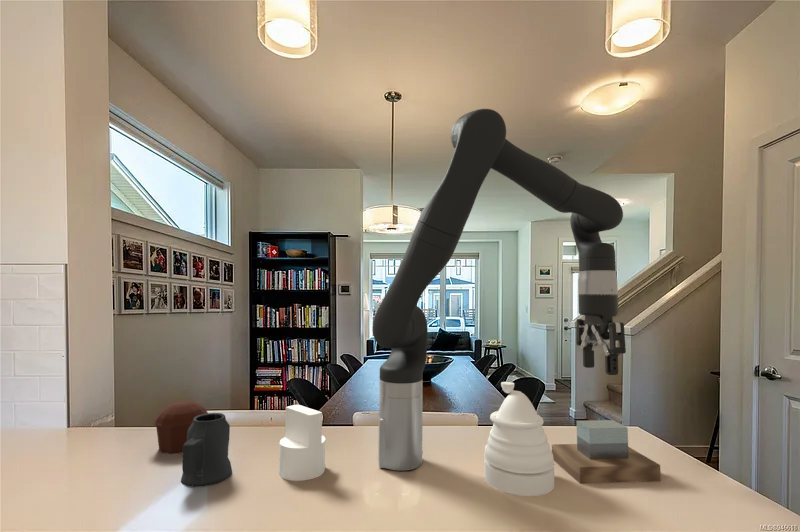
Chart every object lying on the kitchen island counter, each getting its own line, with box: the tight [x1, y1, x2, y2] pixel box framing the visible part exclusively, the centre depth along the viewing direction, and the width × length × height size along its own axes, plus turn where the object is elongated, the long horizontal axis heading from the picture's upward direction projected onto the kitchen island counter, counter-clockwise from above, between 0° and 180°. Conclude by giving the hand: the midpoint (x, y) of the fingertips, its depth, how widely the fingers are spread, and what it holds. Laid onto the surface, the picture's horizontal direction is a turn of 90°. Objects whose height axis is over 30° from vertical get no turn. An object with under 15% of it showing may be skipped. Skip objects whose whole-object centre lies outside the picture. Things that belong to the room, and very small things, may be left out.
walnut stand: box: [551, 443, 662, 484], centre depth 84 cm, size 16×12×3 cm
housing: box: [576, 419, 629, 459], centre depth 85 cm, size 5×8×6 cm, turn 94°
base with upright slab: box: [278, 404, 326, 482], centre depth 83 cm, size 9×9×12 cm
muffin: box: [153, 400, 208, 455], centre depth 96 cm, size 12×11×10 cm
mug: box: [180, 412, 233, 488], centre depth 79 cm, size 12×9×11 cm
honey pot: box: [483, 381, 555, 497], centre depth 80 cm, size 13×13×18 cm
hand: (599, 370), depth 86 cm, fingers open, 8 cm apart
